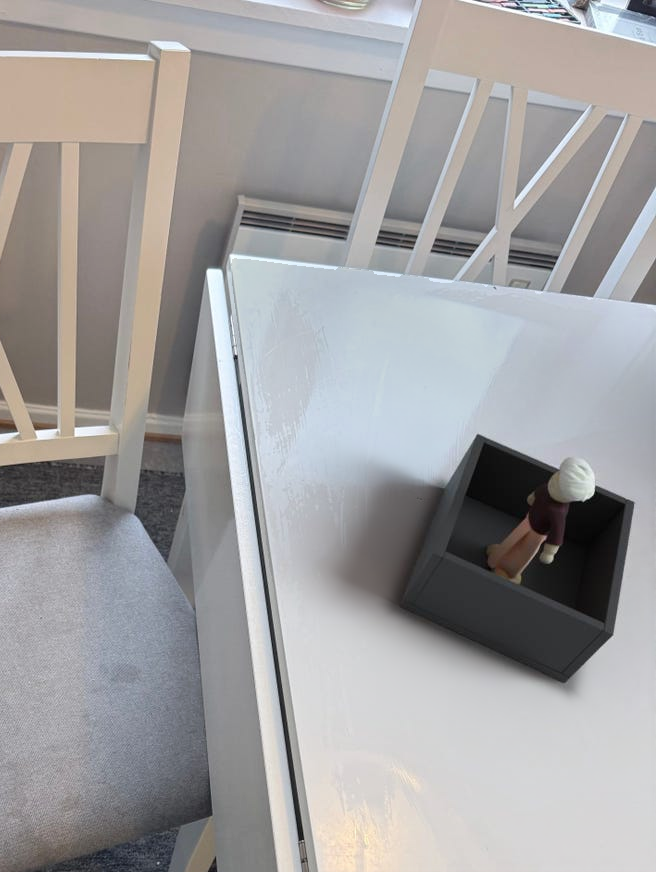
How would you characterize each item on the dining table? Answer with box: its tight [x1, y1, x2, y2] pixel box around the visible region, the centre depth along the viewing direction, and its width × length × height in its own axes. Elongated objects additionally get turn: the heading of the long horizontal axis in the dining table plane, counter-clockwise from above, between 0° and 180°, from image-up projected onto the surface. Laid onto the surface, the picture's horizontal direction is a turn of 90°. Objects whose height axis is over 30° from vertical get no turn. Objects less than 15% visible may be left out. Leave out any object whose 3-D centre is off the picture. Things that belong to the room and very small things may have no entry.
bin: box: [399, 433, 636, 683], centre depth 73 cm, size 15×17×7 cm
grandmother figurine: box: [486, 456, 596, 584], centre depth 70 cm, size 8×4×13 cm, turn 5°
